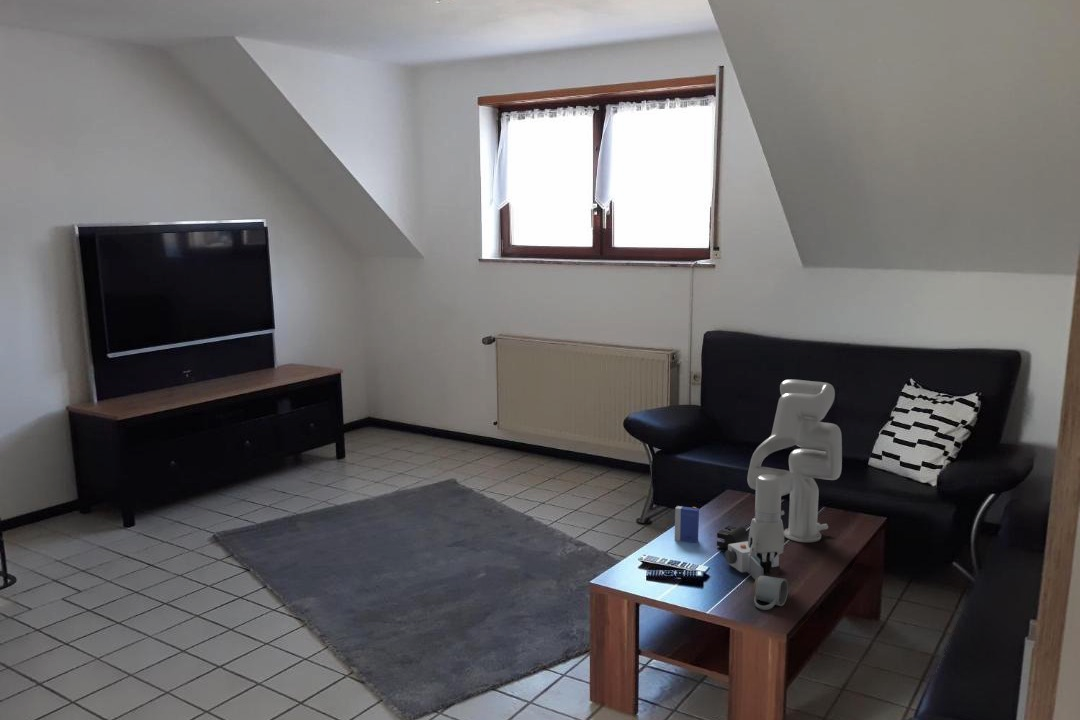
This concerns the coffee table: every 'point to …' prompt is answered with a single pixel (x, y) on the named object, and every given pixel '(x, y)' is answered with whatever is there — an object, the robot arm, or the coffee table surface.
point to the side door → (754, 568)
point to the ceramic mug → (770, 591)
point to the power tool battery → (731, 537)
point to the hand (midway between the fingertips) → (765, 572)
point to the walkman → (686, 524)
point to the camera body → (742, 556)
